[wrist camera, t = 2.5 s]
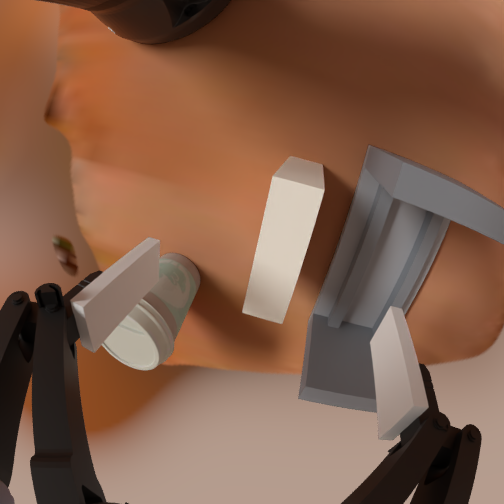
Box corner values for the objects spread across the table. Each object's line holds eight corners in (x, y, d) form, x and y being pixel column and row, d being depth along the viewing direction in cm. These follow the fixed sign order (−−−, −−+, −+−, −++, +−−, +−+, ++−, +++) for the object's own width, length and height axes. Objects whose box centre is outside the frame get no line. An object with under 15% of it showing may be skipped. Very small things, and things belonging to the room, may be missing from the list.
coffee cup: (226, 278, 32) (182, 354, 21) (187, 315, 36) (143, 383, 25) (168, 226, 30) (100, 283, 20) (137, 271, 34) (78, 328, 24)
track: (368, 144, 22) (403, 161, 13) (459, 181, 21) (523, 221, 12) (308, 320, 32) (298, 398, 22) (384, 339, 31) (396, 414, 21)
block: (290, 155, 24) (272, 176, 16) (322, 164, 24) (324, 189, 15) (267, 252, 29) (241, 312, 20) (295, 260, 29) (282, 324, 20)
